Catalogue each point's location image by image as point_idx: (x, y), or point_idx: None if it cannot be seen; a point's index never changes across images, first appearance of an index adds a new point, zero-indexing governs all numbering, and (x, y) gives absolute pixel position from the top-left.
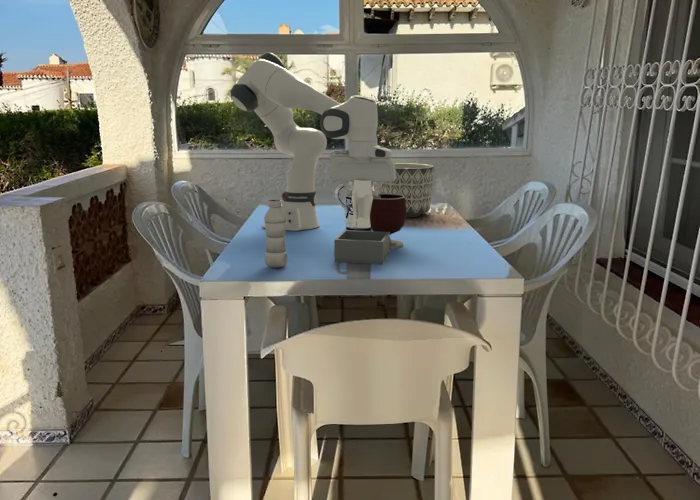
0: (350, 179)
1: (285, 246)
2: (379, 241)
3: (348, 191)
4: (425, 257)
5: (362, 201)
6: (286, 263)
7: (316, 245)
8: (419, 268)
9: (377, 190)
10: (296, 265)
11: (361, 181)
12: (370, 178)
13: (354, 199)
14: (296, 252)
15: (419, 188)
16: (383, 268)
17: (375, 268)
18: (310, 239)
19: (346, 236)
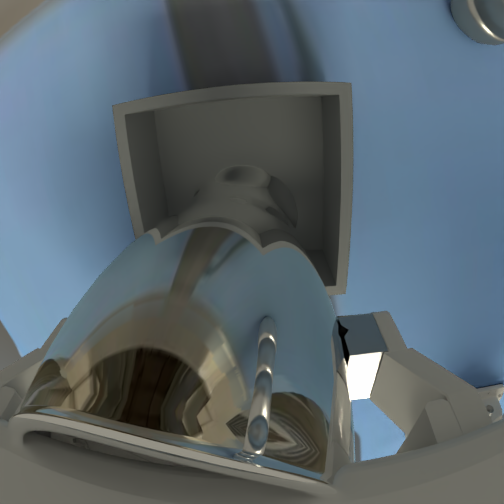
0: (405, 475)
1: (485, 2)
2: (128, 104)
3: (380, 339)
4: (65, 235)
5: (182, 215)
6: (451, 9)
7: (419, 293)
8: (45, 107)
9: (35, 351)
10: (429, 33)
11: (97, 406)
12: (7, 463)
13: (280, 235)
14: (465, 197)
15: None
16: (135, 57)
17: (159, 46)
18: (432, 345)
19: (330, 272)
